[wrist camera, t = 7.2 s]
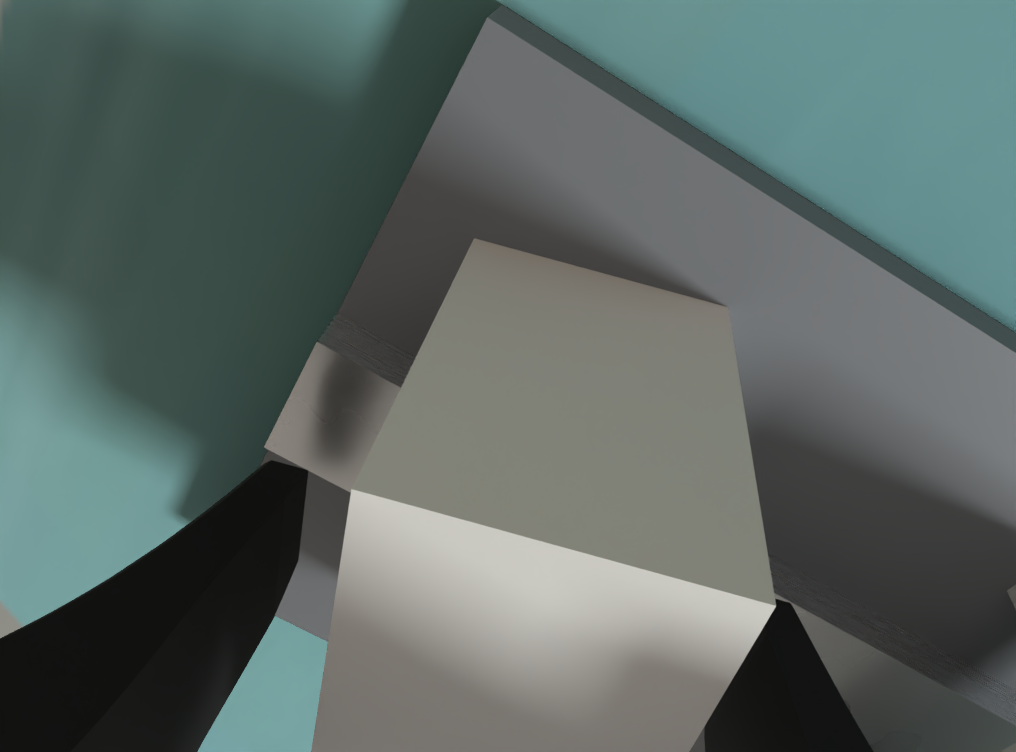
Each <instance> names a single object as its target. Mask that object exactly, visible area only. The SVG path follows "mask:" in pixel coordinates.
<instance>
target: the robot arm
mask: <svg viewBox="0 0 1016 752" xmlns="http://www.w3.org/2000/svg"><path fill="white" fill-rule="evenodd" d="M307 479H308V470H306V469H302V468H299V467H295V466H292V465H288V464H284V463H281V462H277V461H273V460H270V461H268V462H266V463H264V464H263V465H262V466H261V467H259V468H258V469H257V470H256V471H255V472H254V473H252V474H251V475H250V476H249V477H248V478H246V479H245V480H244V481H243V482H242V483H240V484H239V485H238V486H237V487H236V488H234V489H233V490H232V491H231V492H229V493H228V494H227V495H226V496H224V497H223V498H222V499H221V500H219V501H218V502H217V503H215V504H214V505H213V506H212V507H210V508H209V509H208V510H207V511H205V512H204V513H203V514H201V515H200V516H199V517H197V518H196V519H195V520H193V521H192V522H190V523H189V524H188V525H186V526H185V527H184V528H182V529H181V530H180V531H178V532H177V533H176V534H174V535H173V536H172V537H170V538H169V539H167V540H166V541H165V542H163V543H162V544H160V545H159V546H157V547H156V548H154V549H153V550H151V551H150V552H148V553H147V554H145V555H144V556H142V557H141V558H139V559H138V560H136V561H135V562H133V563H132V564H130V565H129V566H127V567H126V568H124V569H123V570H121V571H120V572H118V573H117V574H115V575H114V576H112V577H111V578H109V579H107V580H106V581H104V582H102V583H101V584H99V585H98V586H96V587H94V588H93V589H91V590H89V591H88V592H86V593H84V594H83V595H81V596H79V597H77V598H76V599H74V600H72V601H70V602H69V603H67V604H65V605H63V606H61V607H60V608H58V609H56V610H54V611H53V612H51V613H49V614H47V615H45V616H43V617H41V618H39V619H38V620H36V621H34V622H32V623H30V624H28V625H26V626H24V627H22V628H20V629H18V630H16V631H14V632H12V633H10V634H8V635H6V636H4V637H2V638H0V752H197V751H198V749H199V747H200V746H201V744H202V742H203V740H204V738H205V737H206V735H207V733H208V731H209V730H210V728H211V726H212V724H213V723H214V721H215V719H216V717H217V716H218V714H219V712H220V711H221V709H222V707H223V705H224V704H225V702H226V700H227V698H228V697H229V695H230V693H231V692H232V690H233V688H234V686H235V685H236V683H237V681H238V679H239V678H240V676H241V674H242V673H243V671H244V669H245V667H246V666H247V664H248V662H249V660H250V659H251V657H252V655H253V653H254V652H255V650H256V648H257V646H258V645H259V643H260V641H261V639H262V638H263V636H264V634H265V632H266V631H267V629H268V627H269V625H270V624H271V622H272V620H273V618H274V616H275V614H276V612H277V609H278V607H279V605H280V603H281V600H282V598H283V596H284V593H285V591H286V589H287V586H288V584H289V582H290V579H291V577H292V575H293V572H294V570H295V568H296V565H297V563H298V560H299V551H300V542H301V533H302V524H303V515H304V506H305V497H306V488H307ZM775 601H776V607H775V609H774V611H773V612H772V614H771V616H770V617H769V619H768V621H767V622H766V624H765V626H764V627H763V629H762V631H761V632H760V634H759V636H758V637H757V639H756V641H755V642H754V644H753V646H752V648H751V649H750V651H749V653H748V654H747V656H746V658H745V659H744V661H743V663H742V664H741V666H740V668H739V669H738V671H737V673H736V674H735V676H734V678H733V679H732V681H731V683H730V684H729V686H728V688H727V689H726V691H725V693H724V694H723V696H722V698H721V699H720V701H719V703H718V705H717V706H716V708H715V710H714V711H713V713H712V715H711V716H710V718H709V720H708V721H707V723H706V725H705V729H704V741H705V752H874V751H873V750H872V748H871V746H870V745H869V743H868V741H867V740H866V738H865V736H864V735H863V733H862V731H861V729H860V728H859V726H858V724H857V723H856V721H855V719H854V717H853V716H852V714H851V712H850V711H849V709H848V707H847V705H846V704H845V702H844V700H843V698H842V696H841V695H840V693H839V691H838V689H837V687H836V686H835V684H834V682H833V680H832V678H831V676H830V675H829V673H828V671H827V669H826V667H825V665H824V664H823V662H822V660H821V658H820V656H819V654H818V652H817V651H816V649H815V647H814V645H813V643H812V641H811V639H810V638H809V636H808V634H807V632H806V630H805V628H804V626H803V624H802V623H801V621H800V619H799V617H798V615H797V613H796V612H795V610H794V608H793V606H792V604H791V603H789V602H786V601H782V600H779V599H775Z"/></svg>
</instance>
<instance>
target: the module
mask: <svg viewBox="0 0 1016 752" xmlns="http://www.w3.org/2000/svg"><path fill="white" fill-rule="evenodd" d="M775 607H776V601H775V595H774V589H773V583H772V577H771V570H770V564H769V558H768V552H767V546H766V539H765V533H764V527H763V521H762V515H761V509H760V502H759V496H758V490H757V484H756V478H755V471H754V465H753V459H752V453H751V447H750V440H749V434H748V428H747V422H746V416H745V409H744V403H743V397H742V391H741V385H740V378H739V372H738V366H737V360H736V354H735V347H734V341H733V335H732V329H731V323H730V316H729V310H728V307H726V306H722V305H718V304H714V303H711V302H707V301H703V300H700V299H696V298H692V297H689V296H685V295H681V294H678V293H674V292H670V291H667V290H663V289H659V288H656V287H652V286H648V285H645V284H641V283H637V282H634V281H630V280H626V279H622V278H619V277H615V276H611V275H608V274H604V273H600V272H597V271H593V270H589V269H586V268H582V267H578V266H575V265H571V264H567V263H564V262H560V261H556V260H553V259H549V258H545V257H541V256H538V255H534V254H530V253H527V252H523V251H519V250H516V249H512V248H508V247H505V246H501V245H497V244H494V243H490V242H486V241H483V240H479V239H475V238H474V240H473V242H472V244H471V246H470V248H469V250H468V252H467V254H466V256H465V258H464V260H463V262H462V264H461V266H460V268H459V270H458V272H457V274H456V276H455V278H454V280H453V282H452V284H451V287H450V289H449V291H448V293H447V295H446V297H445V299H444V301H443V303H442V305H441V307H440V309H439V311H438V313H437V315H436V317H435V319H434V321H433V323H432V325H431V327H430V329H429V332H428V334H427V336H426V338H425V340H424V342H423V344H422V346H421V348H420V350H419V352H418V354H417V356H416V358H415V360H414V362H413V364H412V366H411V368H410V370H409V372H408V374H407V376H406V379H405V381H404V383H403V385H402V387H401V389H400V391H399V393H398V395H397V397H396V399H395V401H394V403H393V405H392V407H391V409H390V411H389V413H388V415H387V417H386V419H385V421H384V423H383V426H382V428H381V430H380V432H379V434H378V436H377V438H376V440H375V442H374V444H373V446H372V448H371V450H370V452H369V454H368V456H367V458H366V460H365V462H364V464H363V466H362V468H361V470H360V473H359V475H358V477H357V479H356V481H355V483H354V485H353V487H352V489H351V495H350V502H349V508H348V515H347V521H346V528H345V534H344V541H343V548H342V554H341V561H340V567H339V574H338V580H337V587H336V594H335V600H334V607H333V613H332V620H331V626H330V633H329V639H328V646H327V653H326V659H325V666H324V672H323V679H322V685H321V692H320V698H319V705H318V712H317V718H316V725H315V731H314V738H313V744H312V751H311V752H689V751H690V750H691V748H692V746H693V745H694V743H695V741H696V740H697V738H698V736H699V735H700V733H701V731H702V730H703V728H704V726H705V725H706V723H707V721H708V720H709V718H710V716H711V715H712V713H713V711H714V710H715V708H716V706H717V705H718V703H719V701H720V699H721V698H722V696H723V694H724V693H725V691H726V689H727V688H728V686H729V684H730V683H731V681H732V679H733V678H734V676H735V674H736V673H737V671H738V669H739V668H740V666H741V664H742V663H743V661H744V659H745V658H746V656H747V654H748V653H749V651H750V649H751V648H752V646H753V644H754V642H755V641H756V639H757V637H758V636H759V634H760V632H761V631H762V629H763V627H764V626H765V624H766V622H767V621H768V619H769V617H770V616H771V614H772V612H773V611H774V609H775Z"/></svg>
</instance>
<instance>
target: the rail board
mask: <svg viewBox="0 0 1016 752" xmlns="http://www.w3.org/2000/svg"><path fill="white" fill-rule="evenodd" d="M474 238H475V239H479V240H483V241H486V242H490V243H494V244H497V245H501V246H505V247H508V248H512V249H516V250H519V251H523V252H527V253H530V254H534V255H538V256H541V257H545V258H549V259H553V260H556V261H560V262H564V263H567V264H571V265H575V266H578V267H582V268H586V269H589V270H593V271H597V272H600V273H604V274H608V275H611V276H615V277H619V278H622V279H626V280H630V281H634V282H637V283H641V284H645V285H648V286H652V287H656V288H659V289H663V290H667V291H670V292H674V293H678V294H681V295H685V296H689V297H692V298H696V299H700V300H703V301H707V302H711V303H714V304H718V305H722V306H726V307H728V310H729V316H730V323H731V329H732V335H733V341H734V347H735V354H736V360H737V366H738V372H739V378H740V385H741V391H742V397H743V403H744V409H745V416H746V422H747V428H748V434H749V440H750V447H751V453H752V459H753V465H754V471H755V478H756V484H757V490H758V496H759V502H760V509H761V515H762V521H763V527H764V533H765V539H766V546H767V552H768V558H769V564H770V570H771V577H772V583H773V589H774V595H775V599H779V600H782V601H786V602H789V603H791V604H792V606H793V608H794V610H795V612H796V613H797V615H798V617H799V619H800V621H801V623H802V624H803V626H804V628H805V630H806V632H807V634H808V636H809V638H810V639H811V641H812V643H813V645H814V647H815V649H816V651H817V652H818V654H819V656H820V658H821V660H822V662H823V664H824V665H825V667H826V669H827V671H828V673H829V675H830V676H831V678H832V680H833V682H834V684H835V686H836V687H837V689H838V691H839V693H840V695H841V696H842V698H843V700H844V702H845V704H846V705H847V707H848V709H849V711H850V712H851V714H852V716H853V717H854V719H855V721H856V723H857V724H858V726H859V728H860V729H861V731H862V733H863V735H864V736H865V738H866V740H867V741H868V743H869V745H870V746H871V748H872V750H873V751H874V752H1016V333H1015V332H1013V331H1012V330H1010V329H1008V328H1007V327H1005V326H1004V325H1002V324H1001V323H999V322H997V321H996V320H994V319H993V318H991V317H990V316H988V315H987V314H985V313H983V312H982V311H980V310H979V309H977V308H976V307H974V306H972V305H971V304H969V303H968V302H966V301H965V300H963V299H962V298H960V297H958V296H957V295H955V294H954V293H952V292H951V291H949V290H947V289H946V288H944V287H943V286H941V285H940V284H938V283H937V282H935V281H933V280H932V279H930V278H929V277H927V276H926V275H924V274H922V273H921V272H919V271H918V270H916V269H915V268H913V267H912V266H910V265H908V264H907V263H905V262H904V261H902V260H901V259H899V258H897V257H896V256H894V255H893V254H891V253H890V252H888V251H887V250H885V249H883V248H882V247H880V246H879V245H877V244H876V243H874V242H872V241H871V240H869V239H868V238H866V237H865V236H863V235H861V234H860V233H858V232H857V231H855V230H854V229H852V228H851V227H849V226H847V225H846V224H844V223H843V222H841V221H840V220H838V219H836V218H835V217H833V216H832V215H830V214H829V213H827V212H826V211H824V210H822V209H821V208H819V207H818V206H816V205H815V204H813V203H811V202H810V201H808V200H807V199H805V198H804V197H802V196H801V195H799V194H797V193H796V192H794V191H793V190H791V189H790V188H788V187H786V186H785V185H783V184H782V183H780V182H779V181H777V180H776V179H774V178H772V177H771V176H769V175H768V174H766V173H765V172H763V171H761V170H760V169H758V168H757V167H755V166H754V165H752V164H751V163H749V162H747V161H746V160H744V159H743V158H741V157H740V156H738V155H736V154H735V153H733V152H732V151H730V150H729V149H727V148H726V147H724V146H722V145H721V144H719V143H718V142H716V141H715V140H713V139H711V138H710V137H708V136H707V135H705V134H704V133H702V132H701V131H699V130H697V129H696V128H694V127H693V126H691V125H690V124H688V123H686V122H685V121H683V120H682V119H680V118H679V117H677V116H676V115H674V114H672V113H671V112H669V111H668V110H666V109H665V108H663V107H661V106H660V105H658V104H657V103H655V102H654V101H652V100H651V99H649V98H647V97H646V96H644V95H643V94H641V93H640V92H638V91H636V90H635V89H633V88H632V87H630V86H629V85H627V84H626V83H624V82H622V81H621V80H619V79H618V78H616V77H615V76H613V75H611V74H610V73H608V72H607V71H605V70H604V69H602V68H600V67H599V66H597V65H596V64H594V63H593V62H591V61H590V60H588V59H586V58H585V57H583V56H582V55H580V54H579V53H577V52H575V51H574V50H572V49H571V48H569V47H568V46H566V45H565V44H563V43H561V42H560V41H558V40H557V39H555V38H554V37H552V36H550V35H549V34H547V33H546V32H544V31H543V30H541V29H540V28H538V27H536V26H535V25H533V24H532V23H530V22H529V21H527V20H525V19H524V18H522V17H521V16H519V15H518V14H516V13H515V12H513V11H511V10H510V9H508V8H507V7H505V6H504V5H502V4H501V5H500V6H499V7H498V8H497V9H496V10H495V11H494V12H492V13H491V14H490V15H489V16H488V17H487V19H486V21H485V23H484V25H483V27H482V29H481V31H480V33H479V35H478V36H477V38H476V40H475V42H474V44H473V46H472V48H471V50H470V52H469V54H468V56H467V58H466V60H465V62H464V64H463V66H462V68H461V70H460V72H459V74H458V76H457V78H456V80H455V82H454V84H453V86H452V88H451V90H450V92H449V94H448V96H447V98H446V100H445V102H444V104H443V106H442V108H441V110H440V111H439V113H438V115H437V117H436V119H435V121H434V123H433V125H432V127H431V129H430V131H429V133H428V135H427V137H426V139H425V141H424V143H423V145H422V147H421V149H420V151H419V153H418V155H417V157H416V159H415V161H414V163H413V165H412V167H411V169H410V171H409V173H408V175H407V177H406V179H405V181H404V183H403V185H402V186H401V188H400V190H399V192H398V194H397V196H396V198H395V200H394V202H393V204H392V206H391V208H390V210H389V212H388V214H387V216H386V218H385V220H384V222H383V224H382V226H381V228H380V230H379V232H378V234H377V236H376V238H375V240H374V242H373V244H372V246H371V248H370V250H369V252H368V254H367V256H366V258H365V260H364V261H363V263H362V265H361V267H360V269H359V271H358V273H357V275H356V277H355V279H354V281H353V283H352V285H351V287H350V289H349V291H348V293H347V295H346V297H345V299H344V301H343V303H342V305H341V307H340V309H339V311H338V313H337V314H336V315H335V317H334V318H333V320H332V321H331V322H330V324H329V325H328V327H327V328H326V329H325V331H324V332H323V334H322V335H321V336H320V338H319V339H318V341H317V342H316V344H315V346H314V348H313V350H312V352H311V354H310V356H309V358H308V360H307V362H306V364H305V366H304V368H303V370H302V372H301V374H300V376H299V378H298V380H297V382H296V384H295V386H294V388H293V390H292V392H291V394H290V396H289V398H288V400H287V402H286V404H285V406H284V408H283V410H282V412H281V414H280V416H279V418H278V420H277V422H276V424H275V426H274V428H273V430H272V432H271V434H270V436H269V438H268V440H267V442H266V444H265V446H264V448H266V449H268V451H267V453H266V455H265V457H264V459H263V461H262V463H261V465H260V467H261V466H262V465H263V464H264V463H266V462H268V461H270V460H273V461H277V462H281V463H284V464H288V465H292V466H295V467H299V468H302V469H306V470H308V479H307V488H306V497H305V506H304V515H303V524H302V533H301V542H300V551H299V560H298V563H297V565H296V568H295V570H294V572H293V575H292V577H291V579H290V582H289V584H288V586H287V589H286V591H285V593H284V596H283V598H282V600H281V603H280V605H279V607H278V609H277V612H276V614H275V616H277V617H279V618H281V619H283V620H285V621H287V622H289V623H291V624H293V625H295V626H297V627H299V628H301V629H303V630H305V631H307V632H309V633H311V634H313V635H315V636H317V637H319V638H321V639H323V640H326V641H328V639H329V633H330V626H331V620H332V613H333V607H334V600H335V594H336V587H337V580H338V574H339V567H340V561H341V554H342V548H343V541H344V534H345V528H346V521H347V515H348V508H349V502H350V495H351V489H352V487H353V485H354V483H355V481H356V479H357V477H358V475H359V473H360V470H361V468H362V466H363V464H364V462H365V460H366V458H367V456H368V454H369V452H370V450H371V448H372V446H373V444H374V442H375V440H376V438H377V436H378V434H379V432H380V430H381V428H382V426H383V423H384V421H385V419H386V417H387V415H388V413H389V411H390V409H391V407H392V405H393V403H394V401H395V399H396V397H397V395H398V393H399V391H400V389H401V387H402V385H403V383H404V381H405V379H406V376H407V374H408V372H409V370H410V368H411V366H412V364H413V362H414V360H415V358H416V356H417V354H418V352H419V350H420V348H421V346H422V344H423V342H424V340H425V338H426V336H427V334H428V332H429V329H430V327H431V325H432V323H433V321H434V319H435V317H436V315H437V313H438V311H439V309H440V307H441V305H442V303H443V301H444V299H445V297H446V295H447V293H448V291H449V289H450V287H451V284H452V282H453V280H454V278H455V276H456V274H457V272H458V270H459V268H460V266H461V264H462V262H463V260H464V258H465V256H466V254H467V252H468V250H469V248H470V246H471V244H472V242H473V240H474ZM704 729H705V726H704V728H703V730H702V731H701V733H700V735H699V736H698V738H697V740H696V741H695V743H694V745H693V746H692V748H691V750H690V751H689V752H705V741H704Z"/></svg>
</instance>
